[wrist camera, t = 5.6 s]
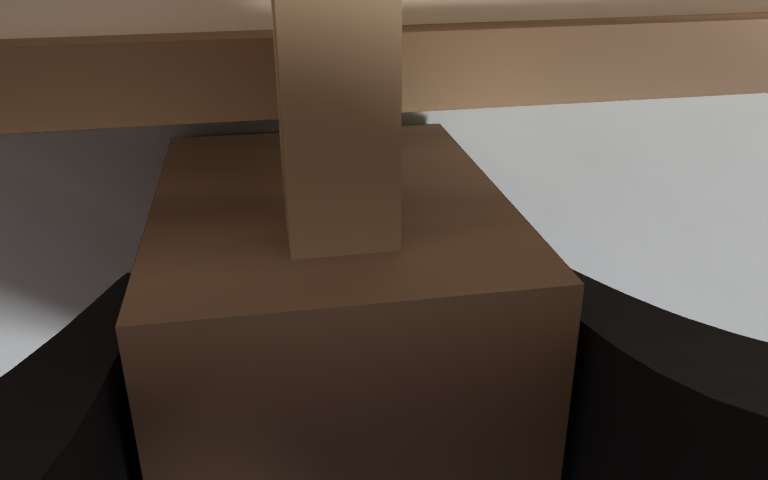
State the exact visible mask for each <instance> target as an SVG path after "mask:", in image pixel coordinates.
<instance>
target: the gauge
mask: <svg viewBox="0 0 768 480" xmlns="http://www.w3.org/2000/svg"><path fill="white" fill-rule="evenodd" d="M271 10H272V25H273V40H274V55H275V70H276V85H277V100H278V115H279V130H280V132H277V133H258V134H240V135H221V136H203V137H184V138H172V139H171V142H170V146H169V149H168V152H167V156H166V159H165V162H164V166H163V169H162V172H161V176H160V179H159V182H158V186H157V189H156V192H155V196H154V199H153V202H152V206H151V209H150V212H149V216H148V219H147V222H146V226H145V229H144V233H143V236H142V239H141V243H140V246H139V249H138V253H137V256H136V259H135V263H134V266H133V269H132V273H131V276H130V279H129V283H128V286H127V289H126V293H125V296H124V299H123V303H122V306H121V309H120V313H119V316H118V320H117V323H116V326H115V329H116V335H117V340H118V346H119V351H120V357H121V362H122V367H123V373H124V378H125V384H126V389H127V395H128V400H129V406H130V411H131V417H132V422H133V427H134V433H135V438H136V444H137V449H138V455H139V460H140V466H141V471H142V477H143V480H561V474H562V466H563V457H564V449H565V441H566V433H567V425H568V417H569V408H570V400H571V392H572V384H573V376H574V367H575V359H576V351H577V343H578V335H579V326H580V318H581V310H582V302H583V294H584V285H585V284H584V283H583V282H582V281H581V280H580V279H579V277H578V276H577V275H576V274H575V273H574V272H573V271H572V270H571V269H570V267H569V266H568V265H567V264H566V263H565V262H564V261H563V260H562V259H561V258H560V256H559V255H558V254H557V253H556V252H555V251H554V250H553V249H552V248H551V246H550V245H549V244H548V243H547V242H546V241H545V240H544V239H543V238H542V236H541V235H540V234H539V233H538V232H537V231H536V230H535V229H534V228H533V227H532V225H531V224H530V223H529V222H528V221H527V220H526V219H525V218H524V217H523V215H522V214H521V213H520V212H519V211H518V210H517V209H516V208H515V207H514V205H513V204H512V203H511V202H510V201H509V200H508V199H507V198H506V197H505V196H504V194H503V193H502V192H501V191H500V190H499V189H498V188H497V187H496V186H495V184H494V183H493V182H492V181H491V180H490V179H489V178H488V177H487V176H486V174H485V173H484V172H483V171H482V170H481V169H480V168H479V167H478V166H477V165H476V163H475V162H474V161H473V160H472V159H471V158H470V157H469V156H468V155H467V153H466V152H465V151H464V150H463V149H462V148H461V147H460V146H459V145H458V143H457V142H456V141H455V140H454V139H453V138H452V137H451V136H450V135H449V134H448V132H447V131H446V130H445V129H444V128H443V127H442V126H441V125H440V124H425V125H406V126H402V0H271Z"/></svg>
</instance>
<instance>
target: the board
mask: <svg viewBox="0 0 768 480" xmlns="http://www.w3.org/2000/svg"><path fill="white" fill-rule="evenodd" d="M753 93H768V0H402V112H420V111H438V110H457V109H475V108H494V107H512V106H531V105H549V104H568V103H586V102H605V101H623V100H642V99H660V98H679V97H697V96H716V95H734V94H753ZM271 119H279V115H278V100H277V85H276V70H275V55H274V40H273V25H272V10H271V0H0V134H12V133H31V132H49V131H68V130H86V129H105V128H123V127H142V126H160V125H179V124H197V123H216V122H234V121H253V120H271Z"/></svg>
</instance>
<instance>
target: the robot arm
mask: <svg viewBox="0 0 768 480" xmlns="http://www.w3.org/2000/svg"><path fill="white" fill-rule="evenodd" d="M570 269H571V268H570ZM571 270H572V271H573V272H574V273H575V274H576V275H577V276H578V277H579V279H580V280H581V281H582V282H583V283H584V284H585V285H584V294H583V302H582V310H581V318H580V326H579V335H578V343H577V351H576V359H575V367H574V376H573V384H572V392H571V400H570V408H569V417H568V425H567V433H566V441H565V449H564V457H563V466H562V474H561V480H768V342H764V341H760V340H756V339H753V338H749V337H746V336H742V335H738V334H735V333H731V332H728V331H725V330H722V329H719V328H716V327H713V326H710V325H706V324H703V323H700V322H697V321H694V320H691V319H688V318H685V317H682V316H680V315H677V314H674V313H671V312H669V311H666V310H663V309H661V308H658V307H656V306H654V305H651V304H649V303H646V302H644V301H641V300H639V299H636V298H634V297H632V296H629V295H627V294H625V293H622V292H620V291H618V290H616V289H613V288H611V287H609V286H607V285H604V284H602V283H600V282H598V281H596V280H594V279H592V278H589V277H587V276H585V275H583V274H581V273H579V272H577V271H575V270H573V269H571ZM131 273H132V272H131ZM131 273H126V274H125V275H124V276H122V277H121V278H120V279H119V280H118V281H116V282H115V283H114V284H113V285H112V286H111V287H110V288H108V289H107V290H106V291H105V292H104V293H103V294H102V295H101V296H100V297H99V298H97V299H96V300H95V301H94V302H93V303H92V304H91V305H90V306H89V307H87V308H86V309H85V310H84V311H83V312H82V313H81V314H79V315H78V316H77V317H76V318H75V319H74V320H73V321H71V322H70V323H69V324H68V325H67V326H66V327H65V328H63V329H62V330H61V331H60V332H59V333H58V334H56V335H55V336H54V337H52V338H51V339H50V340H49V341H47V342H46V343H45V344H43V345H42V346H41V347H40V348H38V349H37V350H36V351H35V352H33V353H32V354H31V355H29V356H28V357H27V358H26V359H24V360H23V361H22V362H20V363H19V364H18V365H17V366H15V367H14V368H13V369H11V370H10V371H9V372H7V373H6V374H4V375H3V376H2V377H0V480H143V477H142V471H141V466H140V460H139V455H138V449H137V444H136V438H135V433H134V427H133V422H132V417H131V411H130V406H129V400H128V395H127V389H126V384H125V378H124V373H123V367H122V362H121V357H120V351H119V346H118V340H117V335H116V329H115V326H116V323H117V320H118V316H119V313H120V309H121V306H122V303H123V299H124V296H125V293H126V289H127V286H128V283H129V279H130V276H131Z"/></svg>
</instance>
